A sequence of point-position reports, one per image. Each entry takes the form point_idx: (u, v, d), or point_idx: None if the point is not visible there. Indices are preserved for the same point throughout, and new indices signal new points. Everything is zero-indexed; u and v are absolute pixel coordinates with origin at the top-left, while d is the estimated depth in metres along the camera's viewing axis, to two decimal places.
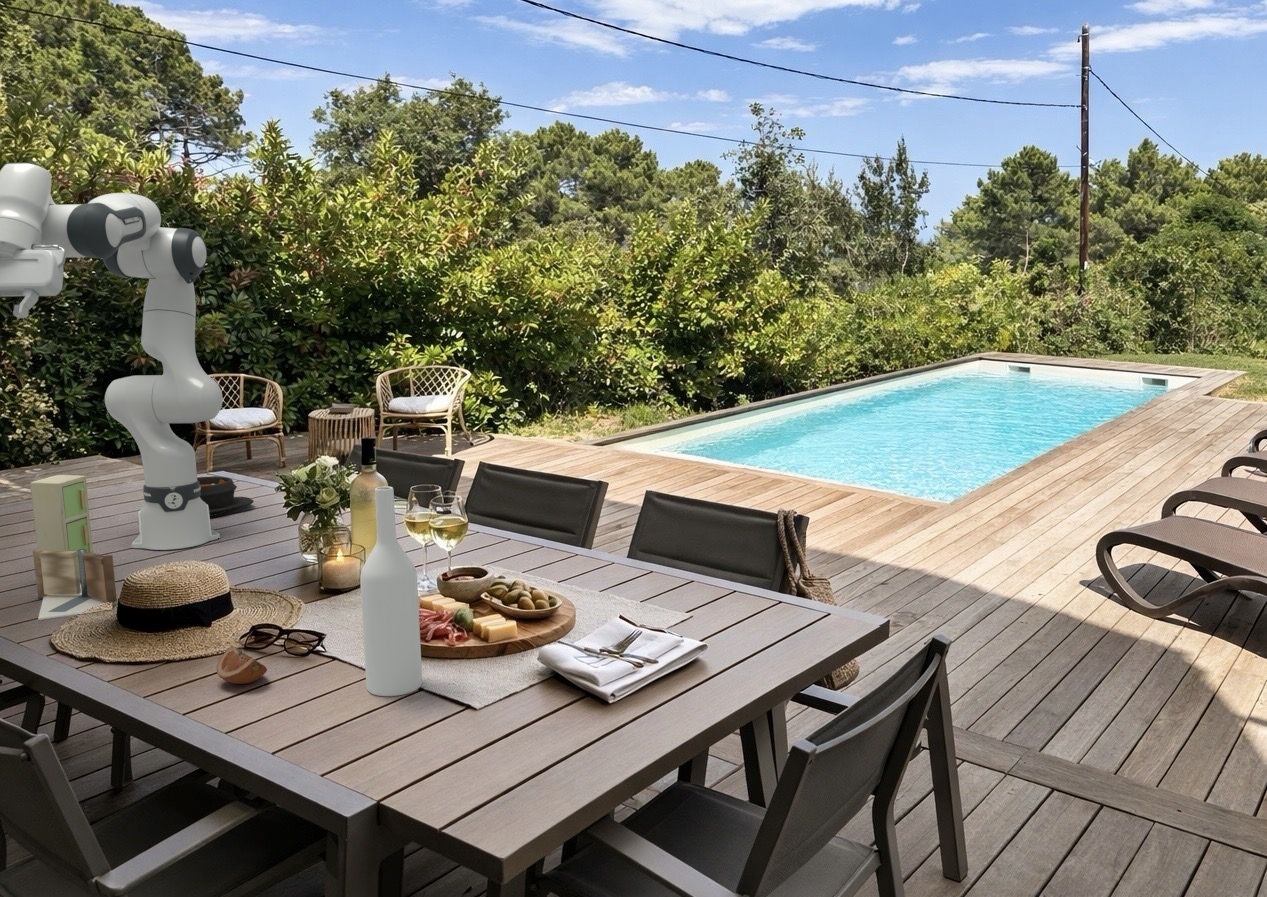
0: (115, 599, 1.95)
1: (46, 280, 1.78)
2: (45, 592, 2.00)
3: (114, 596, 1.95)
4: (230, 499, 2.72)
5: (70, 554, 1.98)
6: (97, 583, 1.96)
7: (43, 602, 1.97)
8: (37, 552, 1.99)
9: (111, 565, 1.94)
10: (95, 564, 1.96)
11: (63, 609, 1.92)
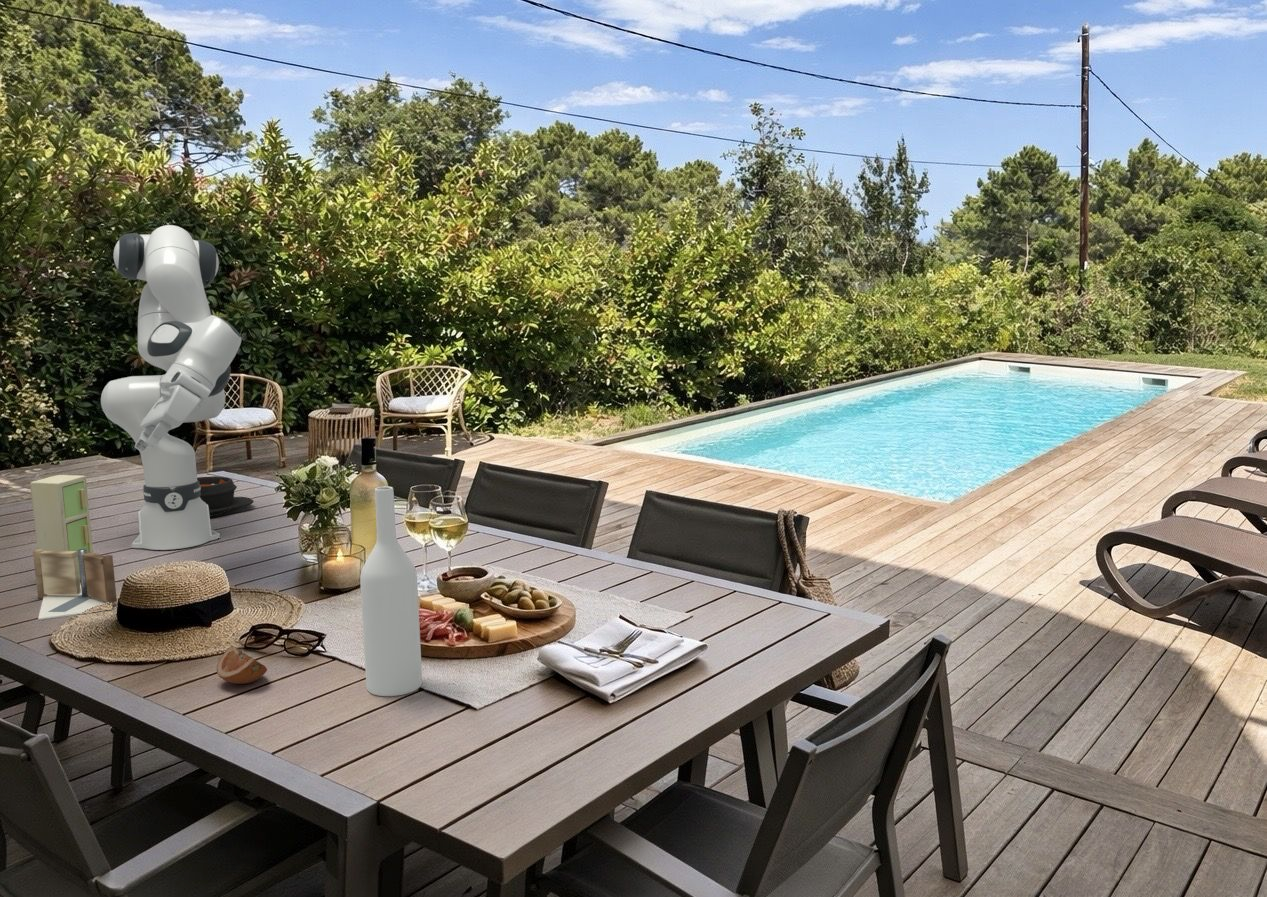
0: (115, 599, 1.95)
1: None
2: (45, 592, 2.00)
3: (114, 596, 1.95)
4: (230, 499, 2.72)
5: (70, 554, 1.98)
6: (97, 583, 1.96)
7: (43, 602, 1.97)
8: (37, 552, 1.99)
9: (111, 565, 1.94)
10: (95, 564, 1.96)
11: (63, 609, 1.92)
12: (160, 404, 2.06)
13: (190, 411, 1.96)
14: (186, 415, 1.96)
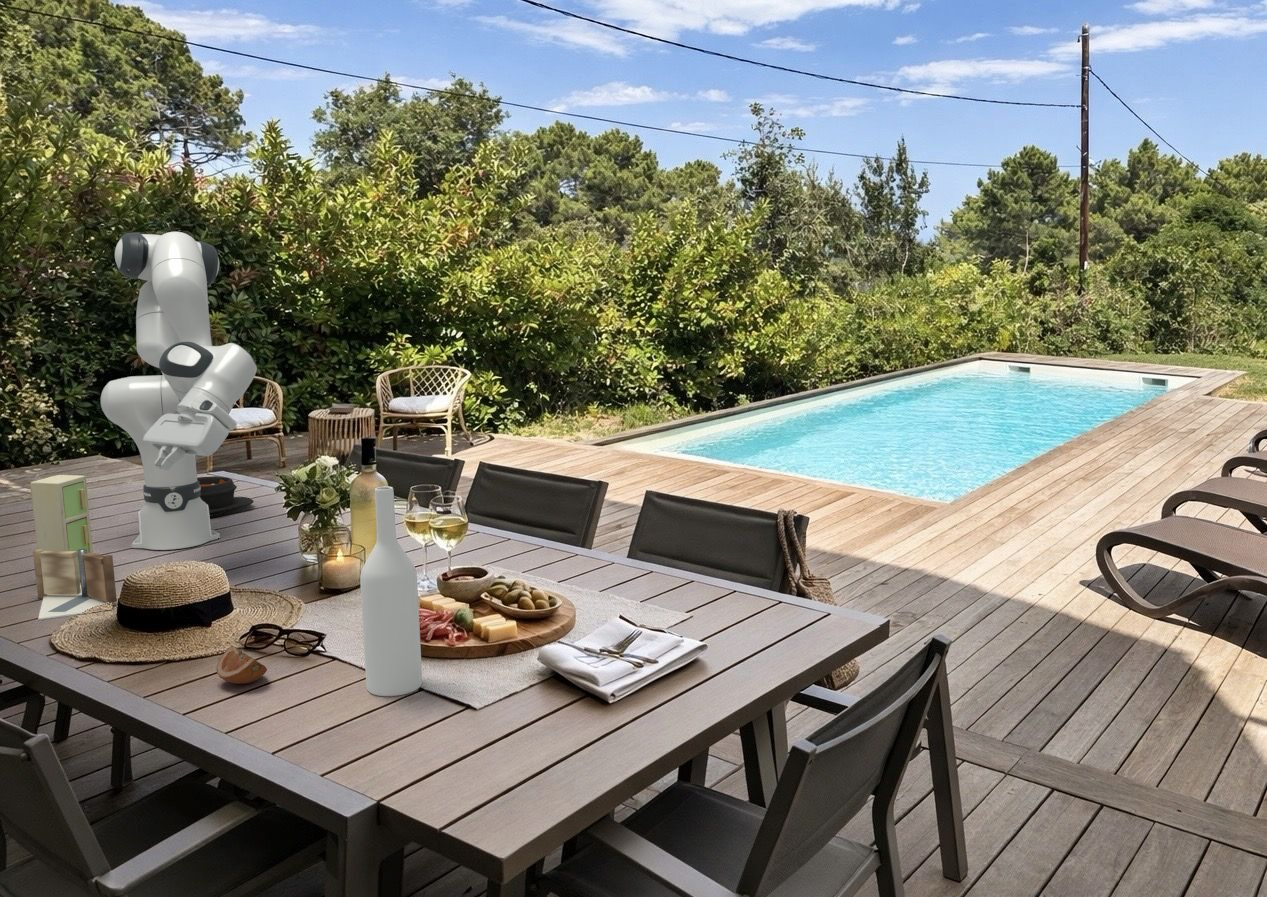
0: (115, 599, 1.95)
1: None
2: (45, 592, 2.00)
3: (114, 596, 1.95)
4: (230, 499, 2.72)
5: (70, 554, 1.98)
6: (97, 583, 1.96)
7: (43, 602, 1.97)
8: (37, 552, 1.99)
9: (111, 565, 1.94)
10: (95, 564, 1.96)
11: (63, 609, 1.92)
12: (172, 423, 2.10)
13: (221, 442, 2.04)
14: (218, 446, 2.03)
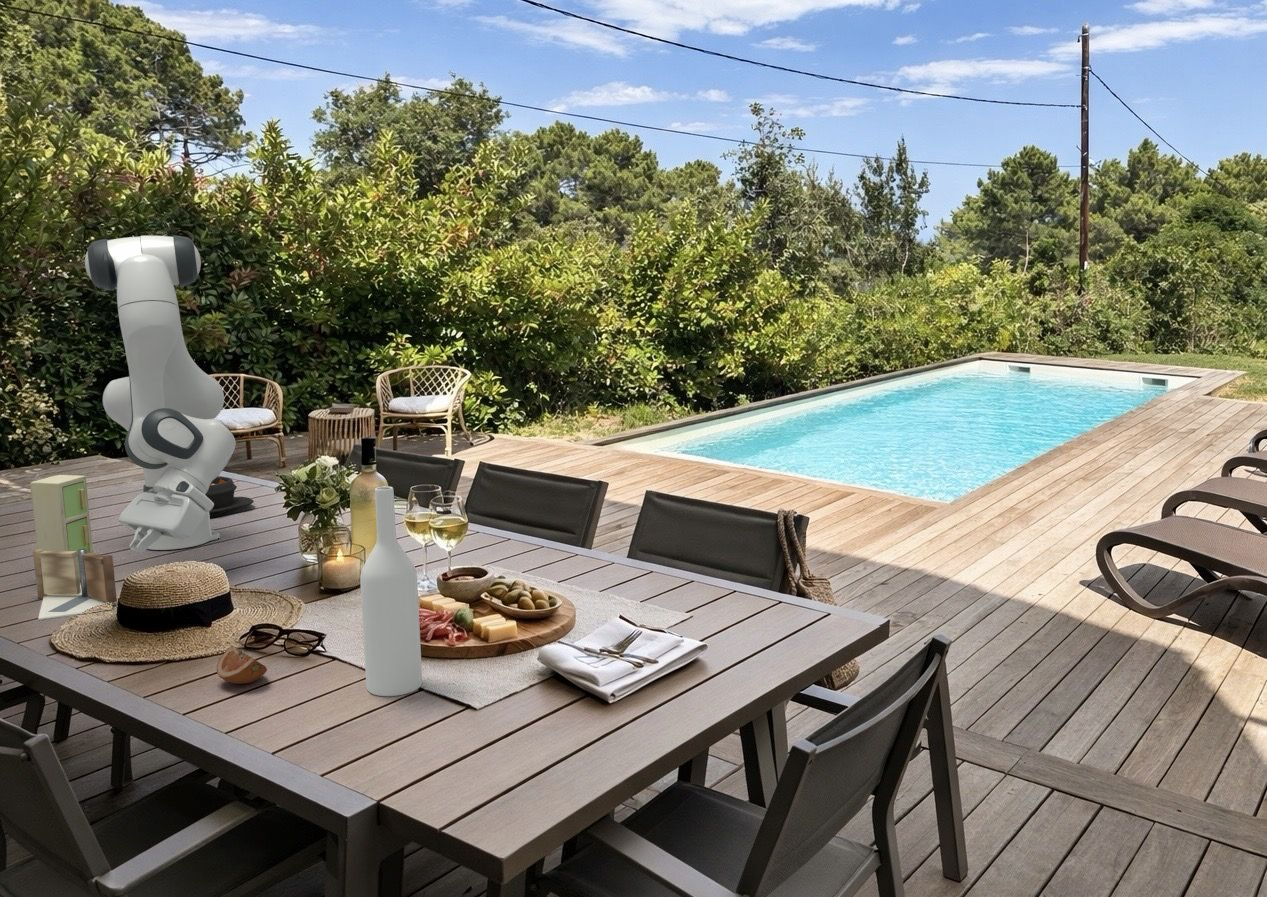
0: (115, 599, 1.95)
1: None
2: (45, 592, 2.00)
3: (114, 596, 1.95)
4: (230, 499, 2.72)
5: (70, 554, 1.98)
6: (97, 583, 1.96)
7: (43, 602, 1.97)
8: (37, 552, 1.99)
9: (111, 565, 1.94)
10: (95, 564, 1.96)
11: (63, 609, 1.92)
12: (148, 503, 2.07)
13: (197, 525, 2.01)
14: (194, 529, 2.00)
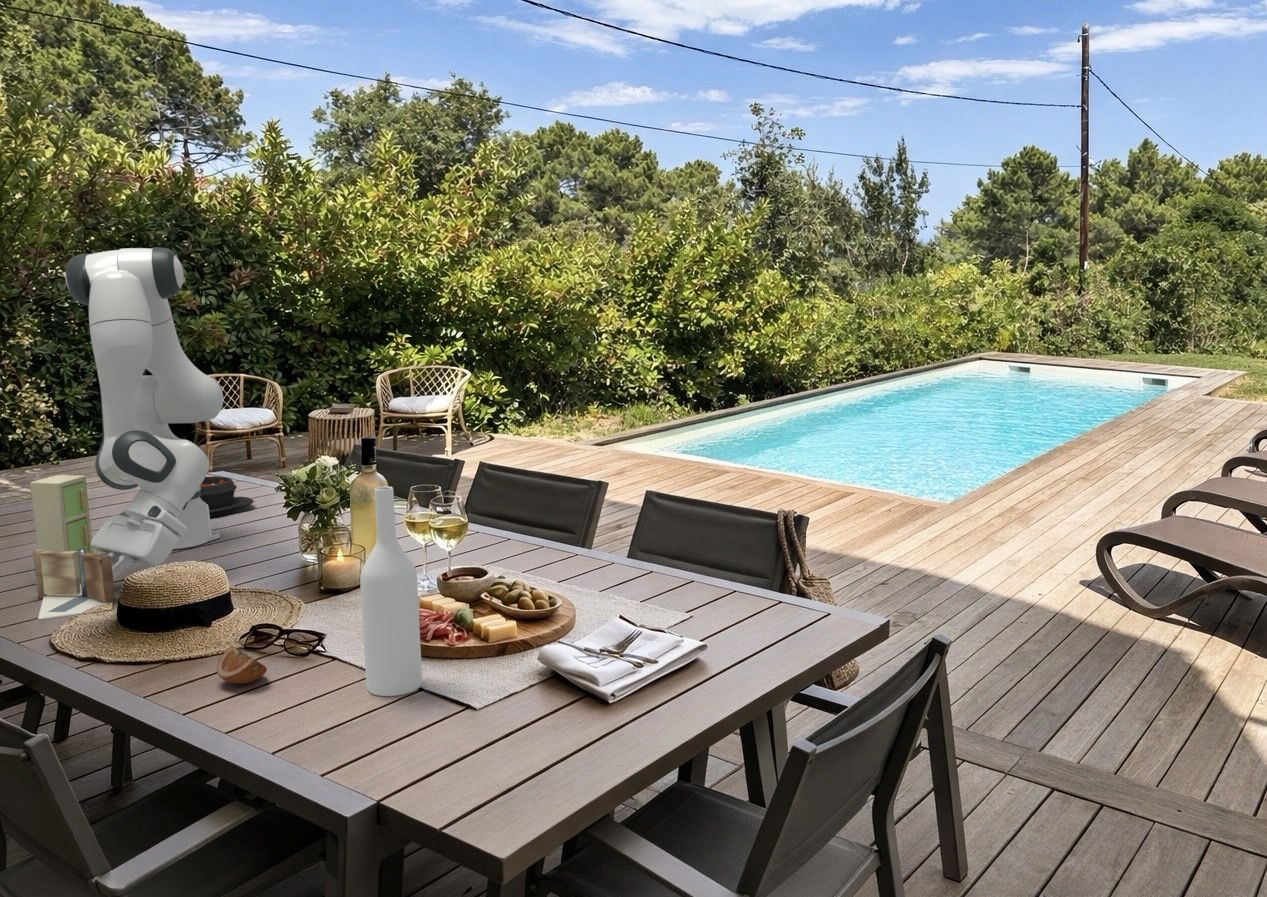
0: (113, 599, 1.95)
1: None
2: (45, 592, 2.00)
3: (112, 596, 1.95)
4: (230, 499, 2.72)
5: (70, 554, 1.98)
6: (96, 583, 1.96)
7: (43, 602, 1.97)
8: (37, 552, 1.99)
9: (109, 565, 1.94)
10: (94, 564, 1.96)
11: (63, 609, 1.92)
12: (120, 527, 2.02)
13: (170, 551, 1.97)
14: (166, 555, 1.96)
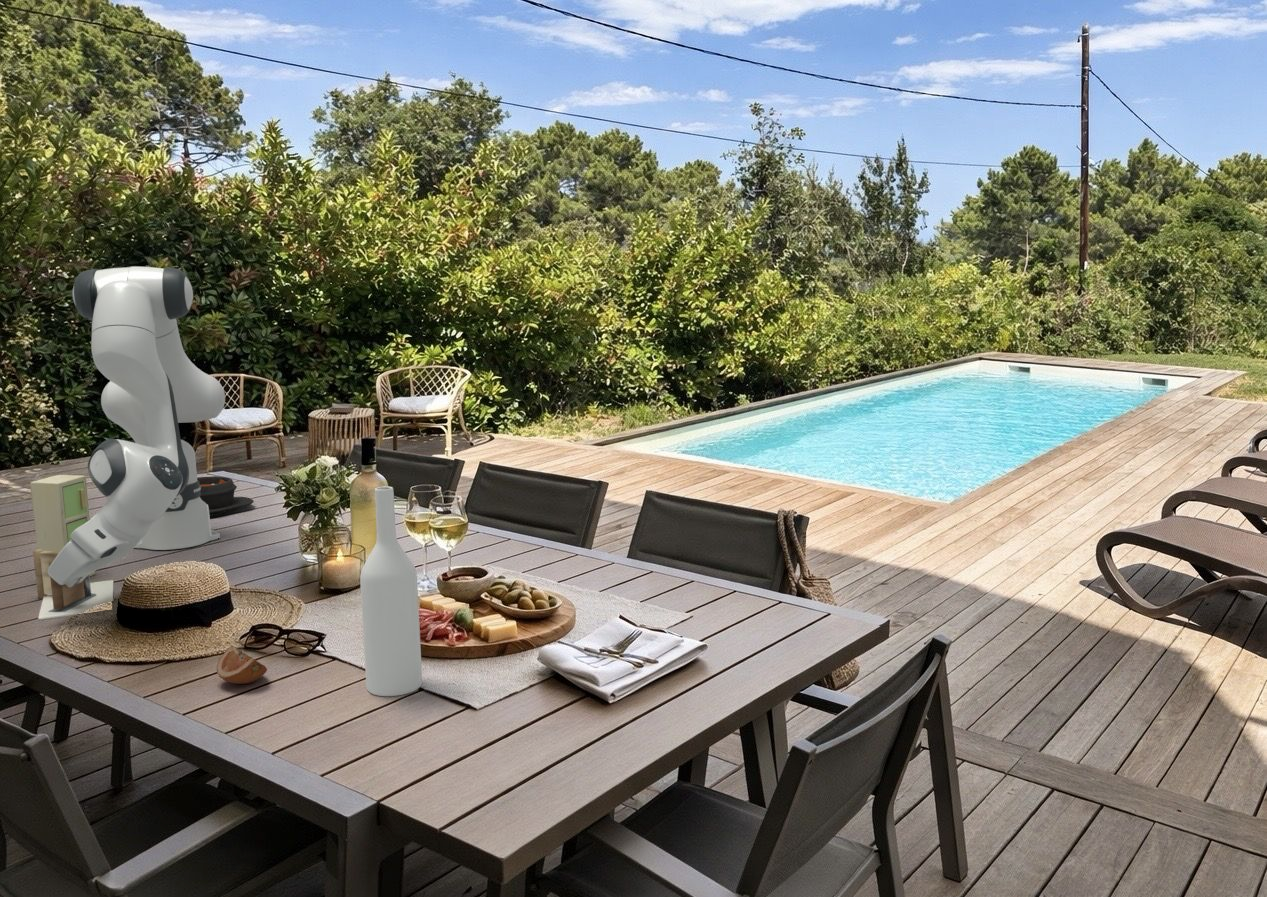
0: (57, 607, 1.91)
1: None
2: (45, 592, 2.00)
3: (56, 604, 1.91)
4: (230, 499, 2.72)
5: None
6: None
7: (43, 602, 1.97)
8: (37, 552, 1.99)
9: None
10: None
11: (63, 609, 1.92)
12: None
13: (72, 573, 1.82)
14: (67, 576, 1.82)
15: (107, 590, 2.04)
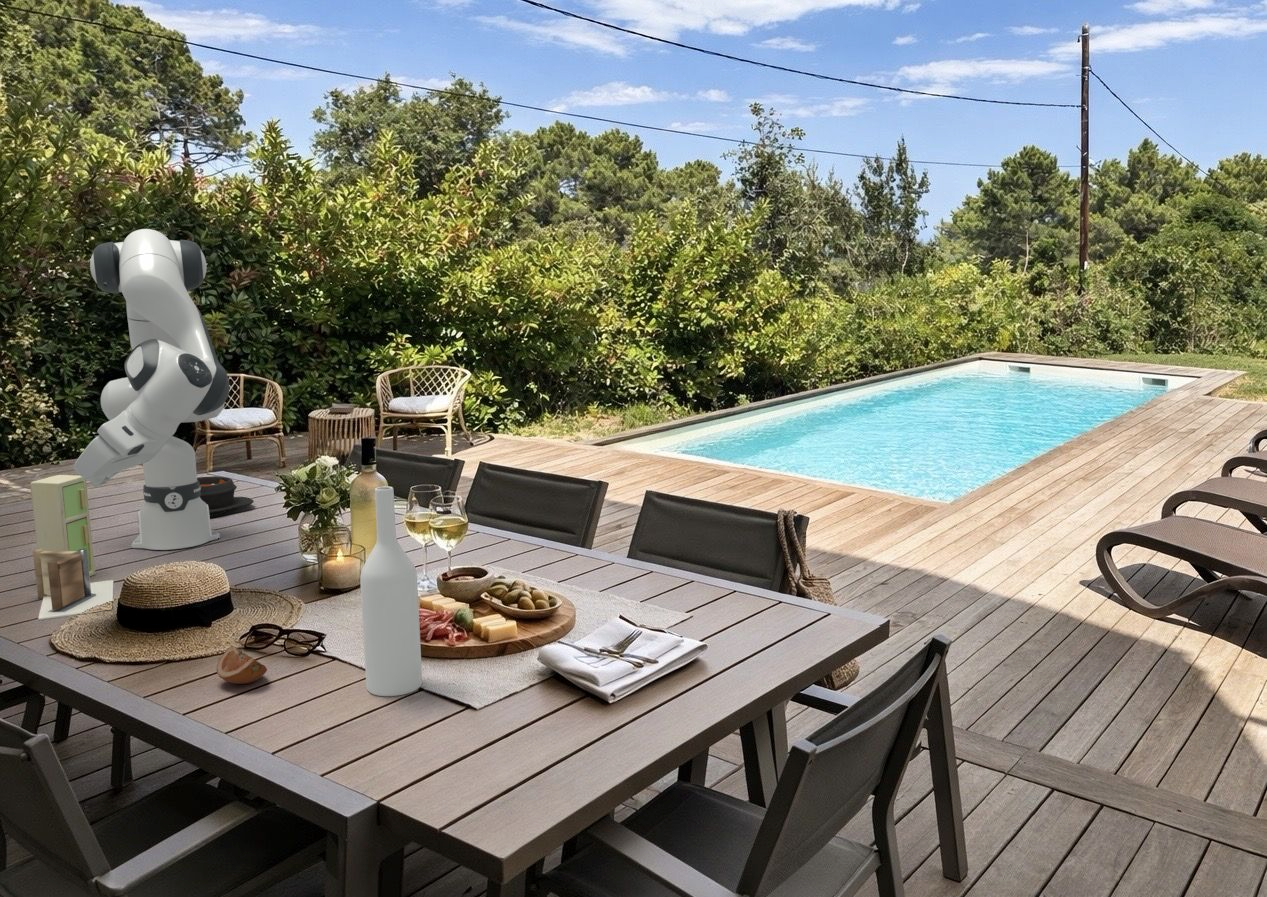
0: (56, 607, 1.91)
1: (151, 458, 1.98)
2: (45, 592, 2.00)
3: (54, 604, 1.91)
4: (230, 499, 2.72)
5: (70, 554, 1.98)
6: None
7: (43, 602, 1.97)
8: (37, 552, 1.99)
9: (51, 572, 1.90)
10: None
11: (63, 609, 1.92)
12: None
13: (98, 468, 1.79)
14: (93, 472, 1.79)
15: (107, 590, 2.04)
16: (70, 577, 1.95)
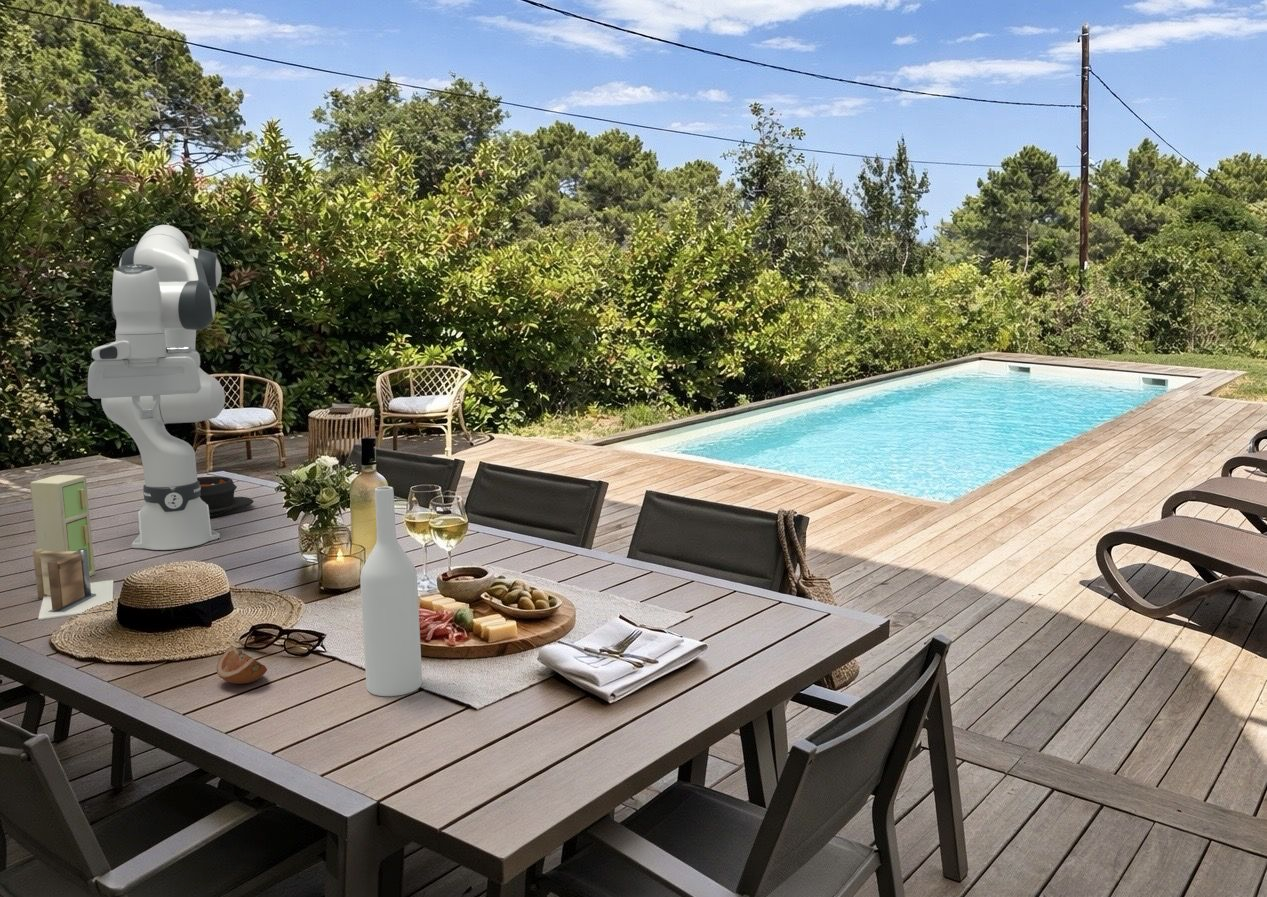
0: (56, 607, 1.91)
1: (196, 387, 2.08)
2: (45, 592, 2.00)
3: (54, 604, 1.91)
4: (230, 499, 2.72)
5: (70, 554, 1.98)
6: None
7: (43, 602, 1.97)
8: (37, 552, 1.99)
9: (51, 572, 1.90)
10: None
11: (63, 609, 1.92)
12: None
13: (88, 380, 1.99)
14: None
15: (107, 590, 2.04)
16: (70, 577, 1.95)
